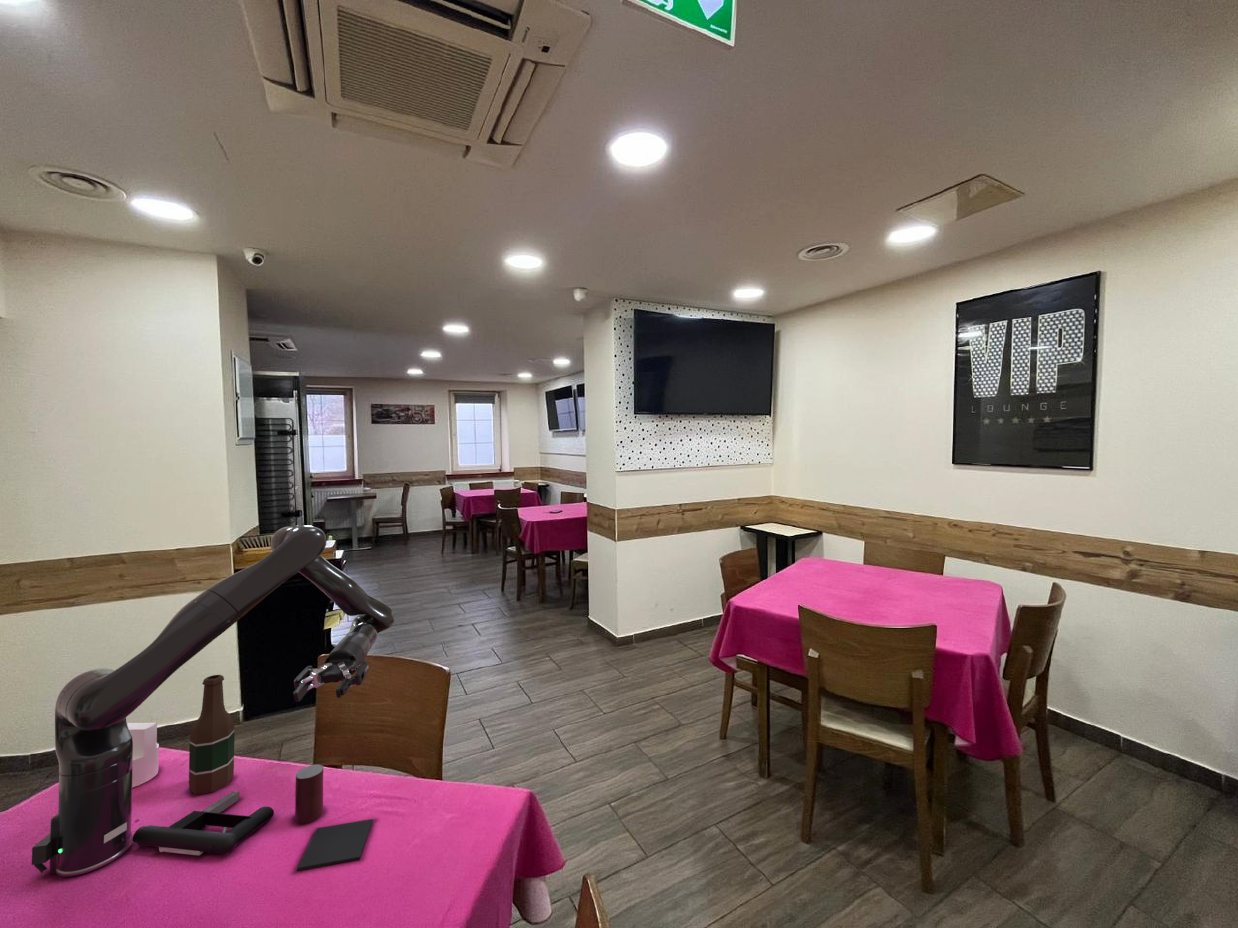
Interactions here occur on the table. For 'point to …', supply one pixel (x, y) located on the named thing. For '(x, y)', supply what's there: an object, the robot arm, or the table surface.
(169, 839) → the door handle
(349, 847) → the black mat
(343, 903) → the table surface
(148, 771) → the base with upright slab
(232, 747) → the beer bottle
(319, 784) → the dark brown cylinder
